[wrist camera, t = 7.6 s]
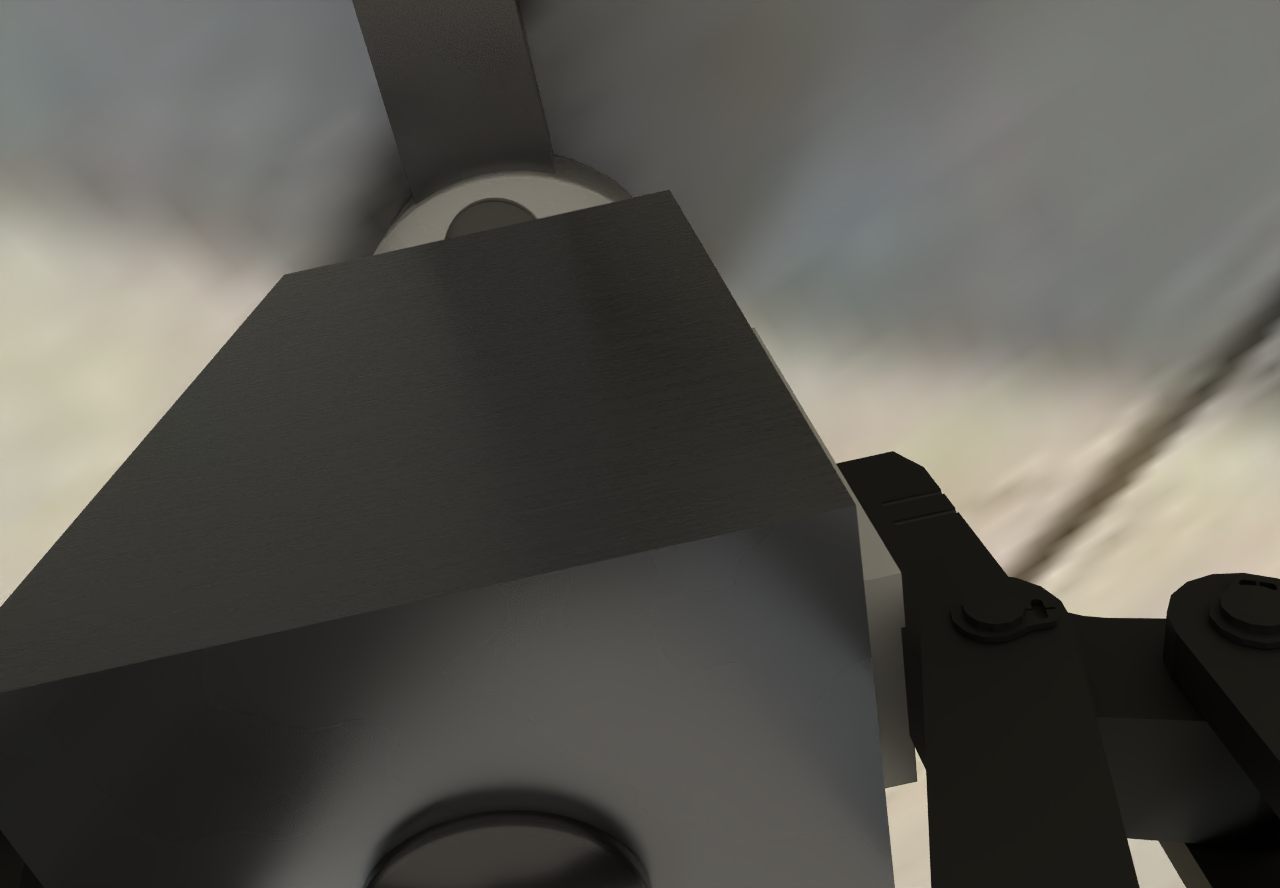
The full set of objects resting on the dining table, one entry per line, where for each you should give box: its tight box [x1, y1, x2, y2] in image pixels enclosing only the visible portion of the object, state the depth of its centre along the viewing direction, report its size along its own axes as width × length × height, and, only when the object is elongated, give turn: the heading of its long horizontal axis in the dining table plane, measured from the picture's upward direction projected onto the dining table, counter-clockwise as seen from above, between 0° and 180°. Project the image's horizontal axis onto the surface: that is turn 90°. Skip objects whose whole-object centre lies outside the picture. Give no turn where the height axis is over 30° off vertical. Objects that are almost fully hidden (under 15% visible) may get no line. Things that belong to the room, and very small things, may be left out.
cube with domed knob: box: [0, 190, 895, 888], centre depth 12 cm, size 6×6×10 cm
